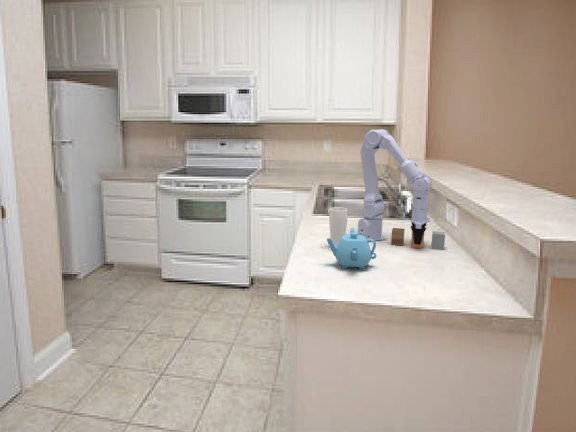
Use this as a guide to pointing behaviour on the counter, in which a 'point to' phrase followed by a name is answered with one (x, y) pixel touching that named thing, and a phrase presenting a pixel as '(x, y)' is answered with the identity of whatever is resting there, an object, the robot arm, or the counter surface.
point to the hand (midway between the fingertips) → (417, 242)
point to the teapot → (353, 250)
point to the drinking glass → (337, 223)
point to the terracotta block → (417, 244)
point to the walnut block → (397, 237)
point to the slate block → (438, 240)
